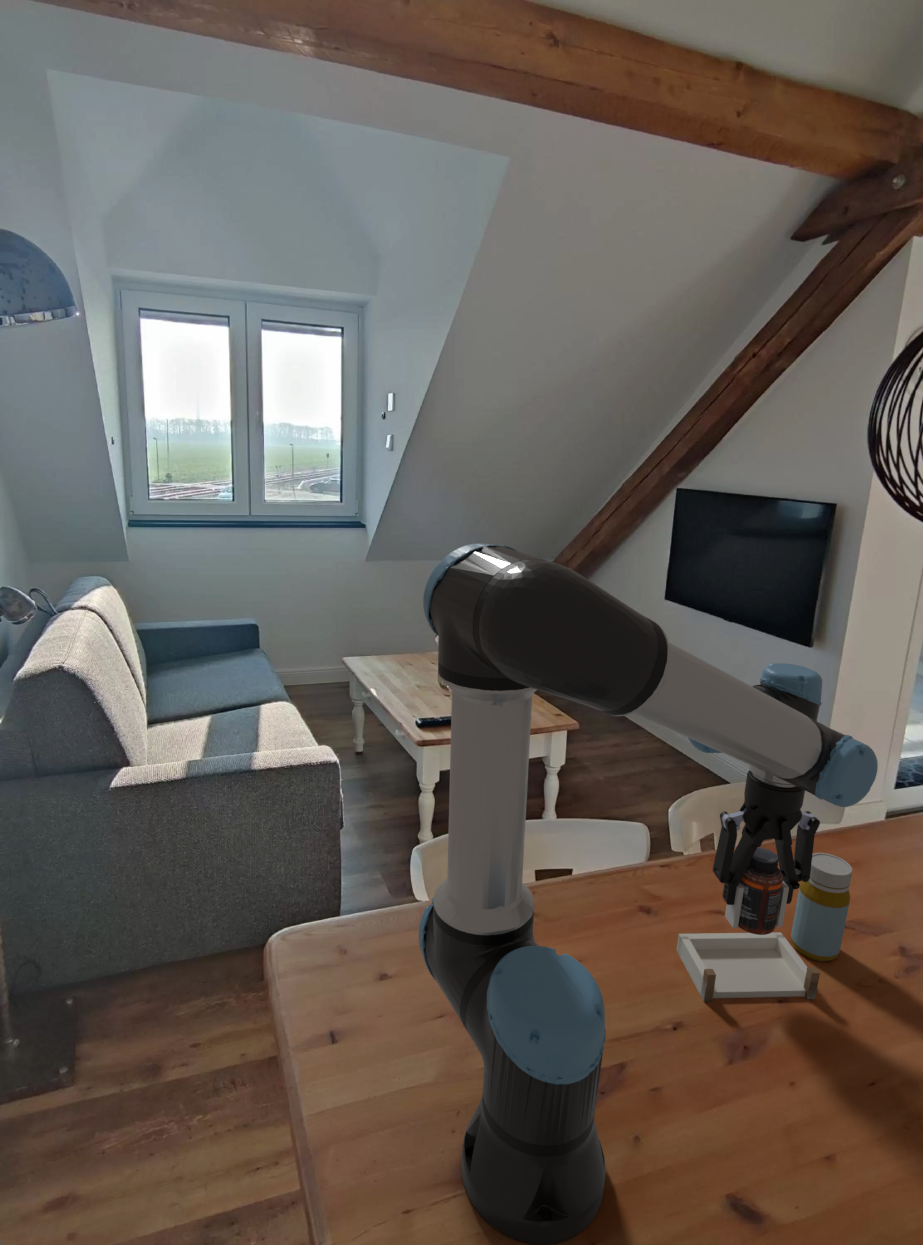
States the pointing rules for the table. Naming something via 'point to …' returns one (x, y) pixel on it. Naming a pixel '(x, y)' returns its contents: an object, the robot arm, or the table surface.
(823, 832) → the table surface
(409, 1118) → the table surface
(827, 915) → the bottle
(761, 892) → the supplement bottle
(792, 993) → the bay
